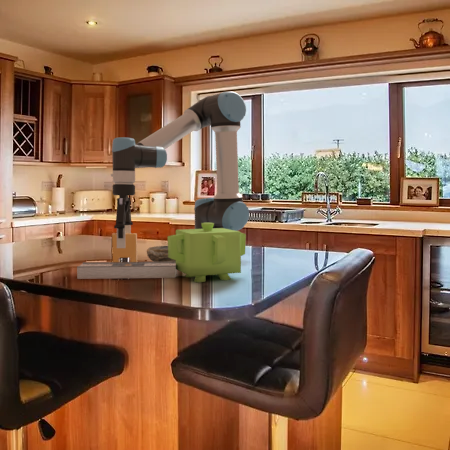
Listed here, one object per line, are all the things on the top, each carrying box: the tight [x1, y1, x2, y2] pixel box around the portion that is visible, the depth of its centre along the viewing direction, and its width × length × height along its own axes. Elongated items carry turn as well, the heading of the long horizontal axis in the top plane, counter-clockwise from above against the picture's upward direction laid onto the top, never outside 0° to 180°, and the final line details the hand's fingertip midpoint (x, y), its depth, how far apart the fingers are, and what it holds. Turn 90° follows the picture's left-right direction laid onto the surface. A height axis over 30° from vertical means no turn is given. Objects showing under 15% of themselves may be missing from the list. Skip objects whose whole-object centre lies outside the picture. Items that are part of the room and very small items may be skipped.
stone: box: [146, 245, 176, 262], centre depth 177 cm, size 14×10×10 cm
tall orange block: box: [111, 232, 138, 262], centre depth 165 cm, size 8×3×12 cm, turn 94°
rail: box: [76, 261, 177, 280], centre depth 152 cm, size 30×8×4 cm, turn 94°
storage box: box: [167, 223, 247, 283], centre depth 149 cm, size 25×23×17 cm
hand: (124, 245), depth 165 cm, fingers open, 13 cm apart
